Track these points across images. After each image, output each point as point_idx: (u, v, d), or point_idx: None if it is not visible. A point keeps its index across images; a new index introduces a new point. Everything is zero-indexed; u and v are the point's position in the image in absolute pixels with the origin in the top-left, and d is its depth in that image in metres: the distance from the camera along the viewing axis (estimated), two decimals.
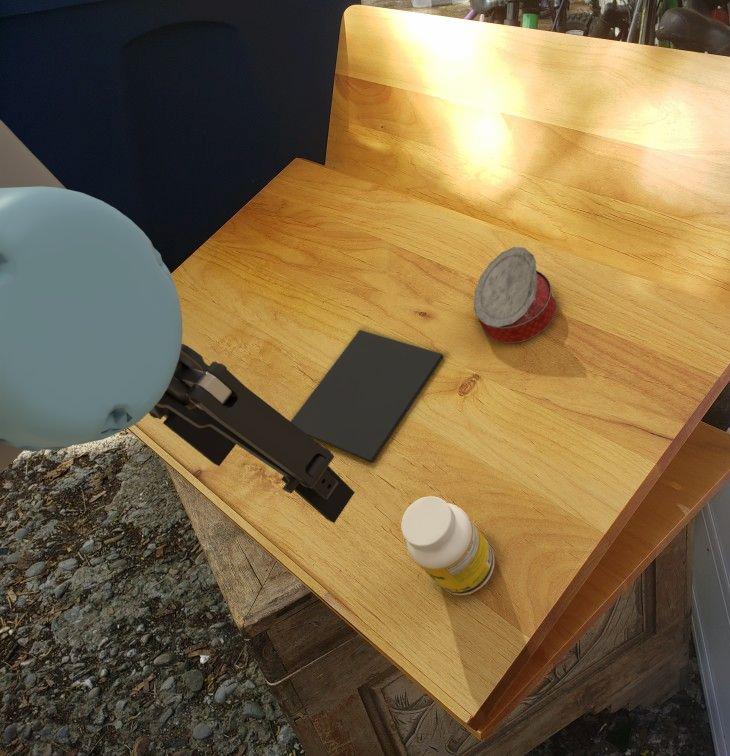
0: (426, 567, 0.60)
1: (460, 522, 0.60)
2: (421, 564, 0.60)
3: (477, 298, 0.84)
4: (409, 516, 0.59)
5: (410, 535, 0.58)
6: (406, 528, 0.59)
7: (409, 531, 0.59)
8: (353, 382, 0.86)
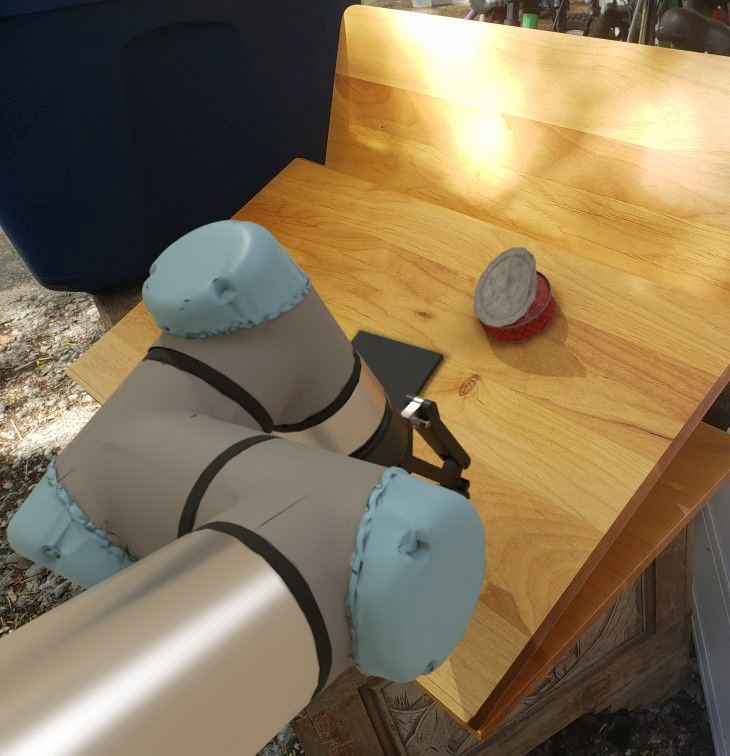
0: None
1: None
2: None
3: (477, 298, 0.84)
4: None
5: None
6: None
7: None
8: None
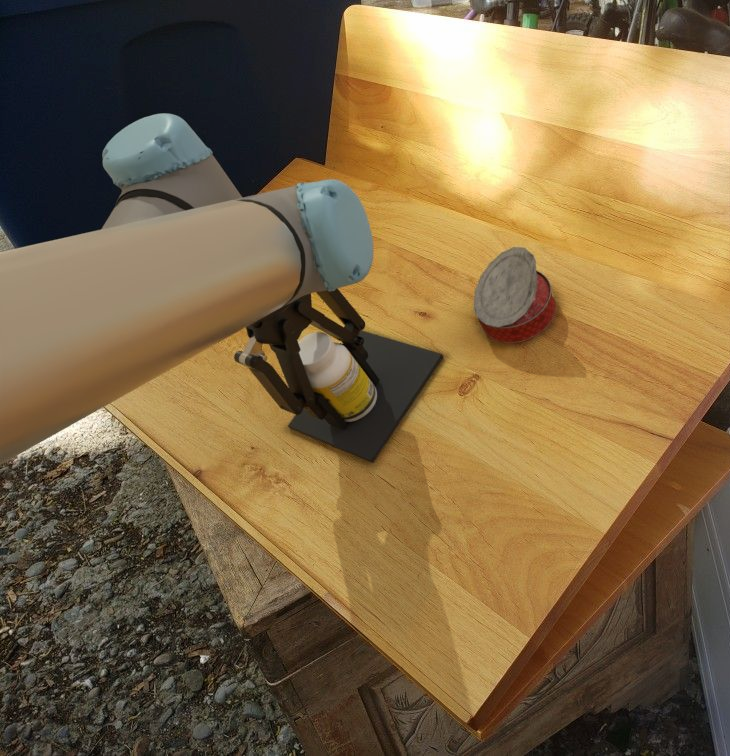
0: (313, 387, 0.76)
1: (340, 353, 0.77)
2: None
3: (477, 298, 0.84)
4: None
5: None
6: None
7: None
8: None
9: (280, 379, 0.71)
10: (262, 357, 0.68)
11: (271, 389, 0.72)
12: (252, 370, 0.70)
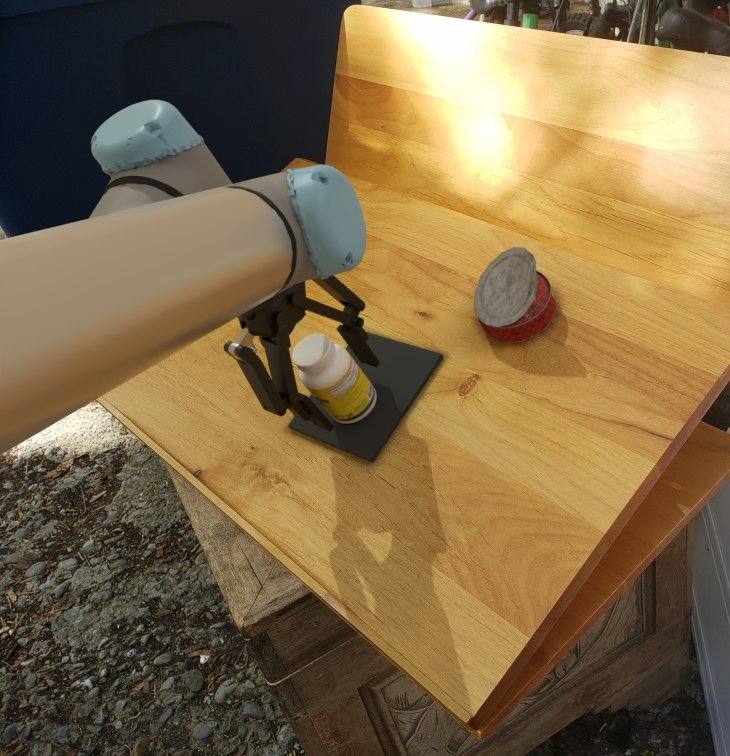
0: (312, 388, 0.76)
1: (340, 354, 0.76)
2: (308, 386, 0.76)
3: (477, 298, 0.84)
4: (299, 348, 0.76)
5: (298, 360, 0.75)
6: (295, 355, 0.75)
7: (297, 357, 0.75)
8: None
9: (267, 375, 0.69)
10: (253, 349, 0.67)
11: (256, 386, 0.70)
12: (240, 363, 0.69)
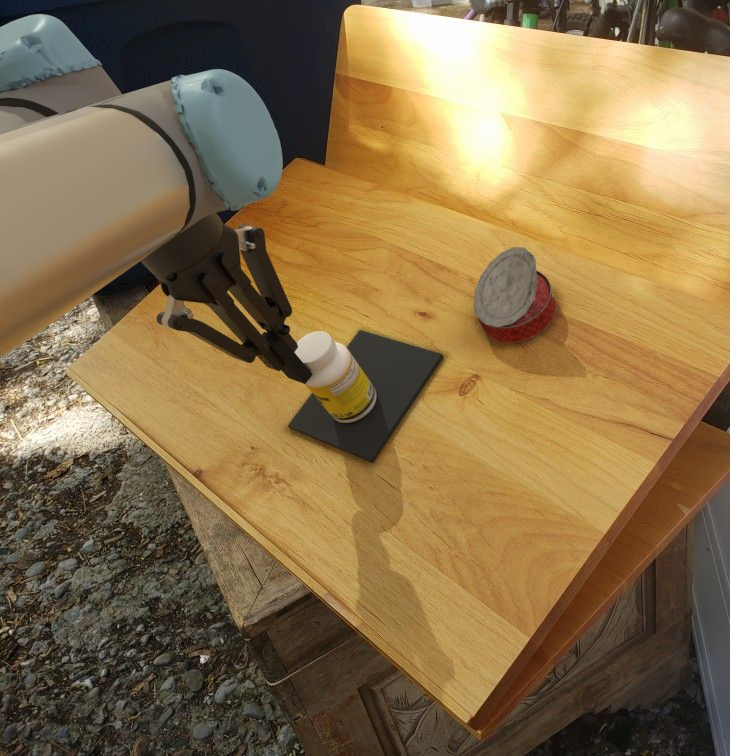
0: (312, 386, 0.76)
1: (341, 352, 0.76)
2: (308, 383, 0.76)
3: (477, 298, 0.84)
4: (300, 345, 0.76)
5: None
6: (296, 352, 0.75)
7: (298, 354, 0.75)
8: None
9: (217, 332, 0.63)
10: (187, 316, 0.60)
11: (212, 344, 0.64)
12: None
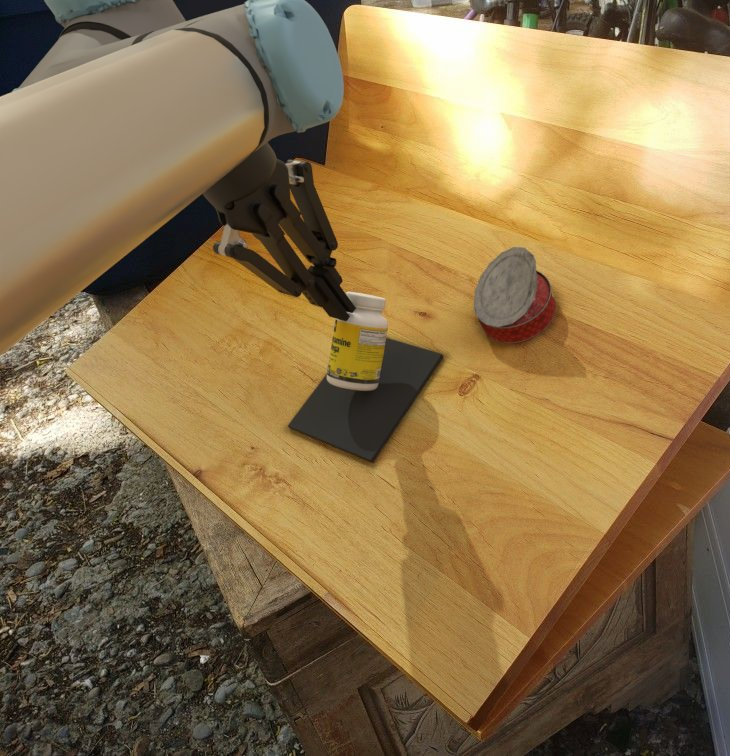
0: (347, 322, 0.78)
1: None
2: None
3: (477, 298, 0.84)
4: (354, 292, 0.81)
5: (352, 293, 0.79)
6: (350, 292, 0.80)
7: (352, 293, 0.80)
8: None
9: (268, 264, 0.66)
10: (243, 245, 0.63)
11: (262, 276, 0.67)
12: (237, 259, 0.65)
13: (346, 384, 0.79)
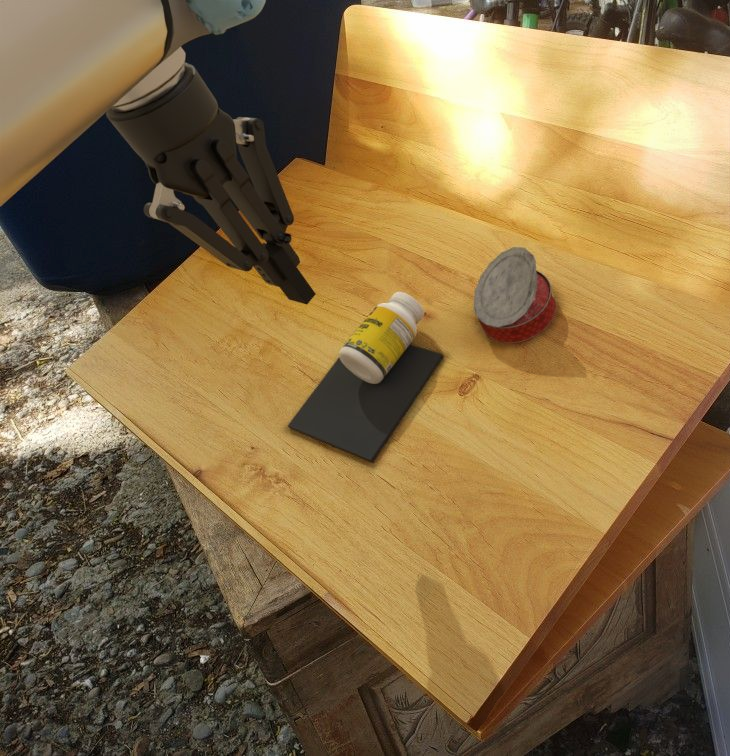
0: (388, 307, 0.83)
1: None
2: (386, 305, 0.83)
3: (477, 298, 0.84)
4: None
5: None
6: None
7: None
8: (353, 382, 0.86)
9: (211, 230, 0.58)
10: (178, 206, 0.55)
11: (205, 245, 0.59)
12: (173, 225, 0.57)
13: (360, 355, 0.80)
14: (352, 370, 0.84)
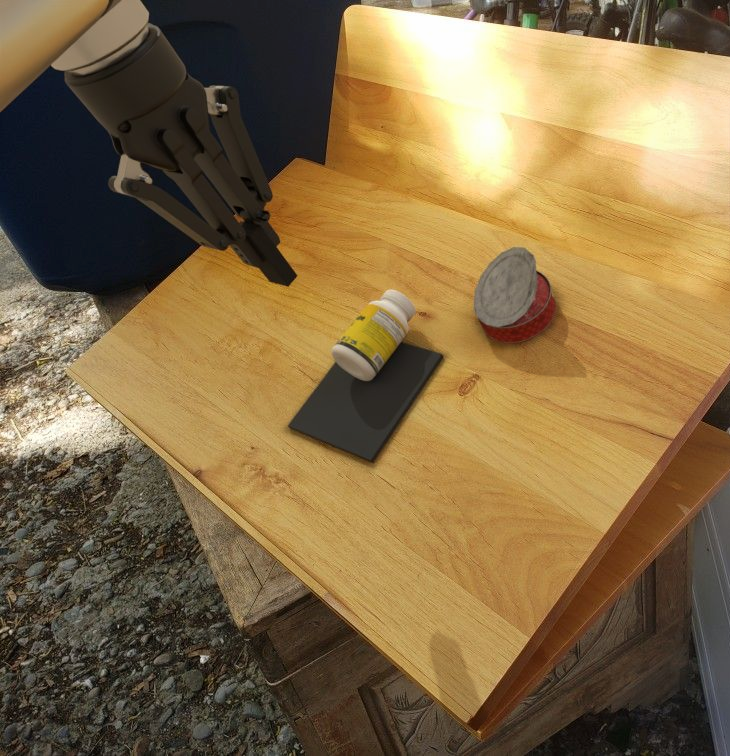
0: (371, 303, 0.84)
1: (407, 321, 0.86)
2: (371, 302, 0.85)
3: (477, 298, 0.84)
4: None
5: None
6: None
7: None
8: (353, 382, 0.86)
9: (182, 206, 0.54)
10: (144, 180, 0.51)
11: (176, 222, 0.55)
12: (141, 200, 0.53)
13: (342, 348, 0.81)
14: (350, 372, 0.85)
